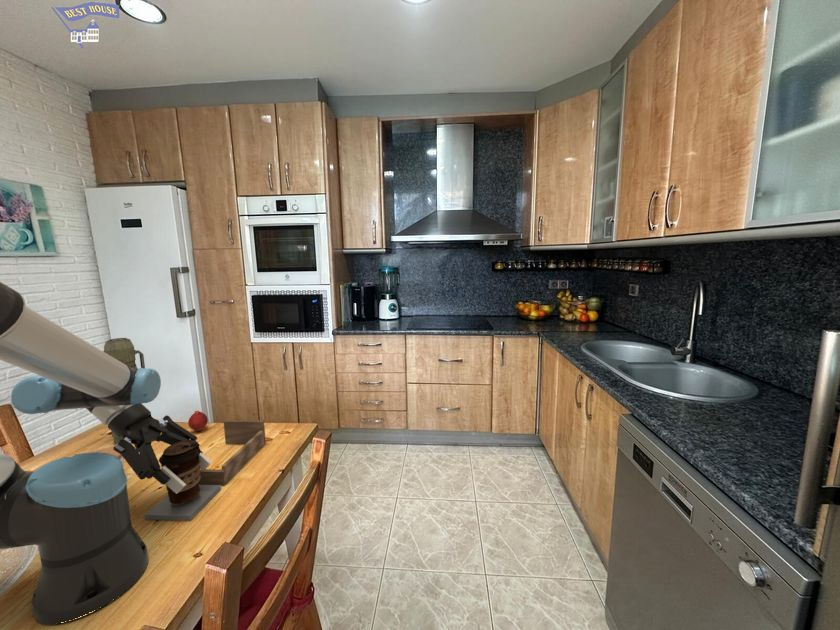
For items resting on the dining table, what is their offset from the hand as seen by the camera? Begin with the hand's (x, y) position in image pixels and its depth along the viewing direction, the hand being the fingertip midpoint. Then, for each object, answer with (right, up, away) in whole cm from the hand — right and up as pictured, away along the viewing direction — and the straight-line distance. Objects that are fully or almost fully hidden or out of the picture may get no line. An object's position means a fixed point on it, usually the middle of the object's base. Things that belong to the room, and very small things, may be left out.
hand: (195, 477), depth 81 cm
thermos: (-45, -3, +33) cm, 56 cm away
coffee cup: (-3, -5, +1) cm, 6 cm away
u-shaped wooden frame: (-4, -5, +19) cm, 20 cm away
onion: (-25, -3, +39) cm, 46 cm away
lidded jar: (-32, -7, +9) cm, 34 cm away
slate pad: (-3, -7, +1) cm, 8 cm away
